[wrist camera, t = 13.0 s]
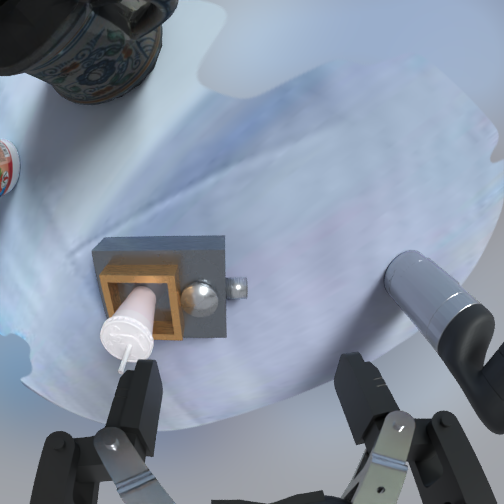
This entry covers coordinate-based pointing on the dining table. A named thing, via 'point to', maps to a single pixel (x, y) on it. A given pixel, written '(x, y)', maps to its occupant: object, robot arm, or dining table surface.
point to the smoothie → (131, 328)
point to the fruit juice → (8, 166)
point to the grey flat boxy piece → (170, 281)
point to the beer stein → (83, 44)
